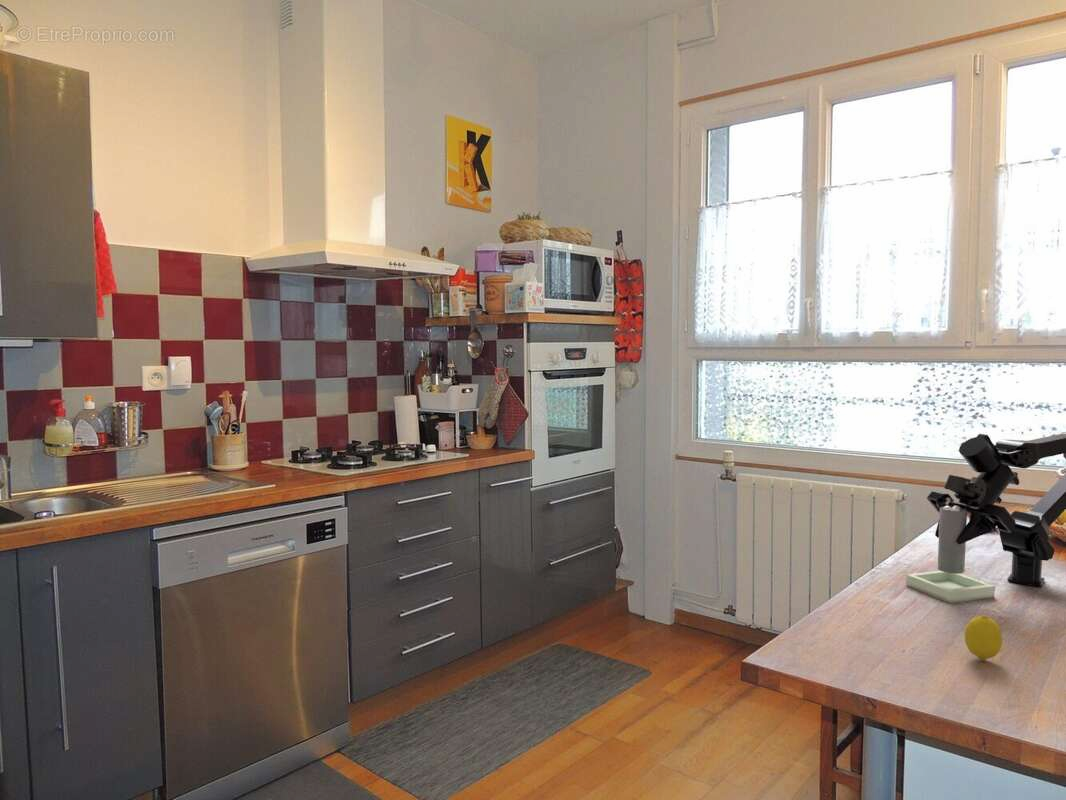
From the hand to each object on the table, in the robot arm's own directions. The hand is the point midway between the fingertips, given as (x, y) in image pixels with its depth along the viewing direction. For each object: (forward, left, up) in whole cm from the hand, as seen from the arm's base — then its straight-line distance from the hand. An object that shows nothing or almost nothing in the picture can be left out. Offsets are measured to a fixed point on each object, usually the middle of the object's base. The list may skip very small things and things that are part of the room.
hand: (947, 539), depth 164 cm
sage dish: (-1, +1, -12) cm, 12 cm away
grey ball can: (-1, +1, -7) cm, 7 cm away
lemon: (+35, +13, -12) cm, 39 cm away
